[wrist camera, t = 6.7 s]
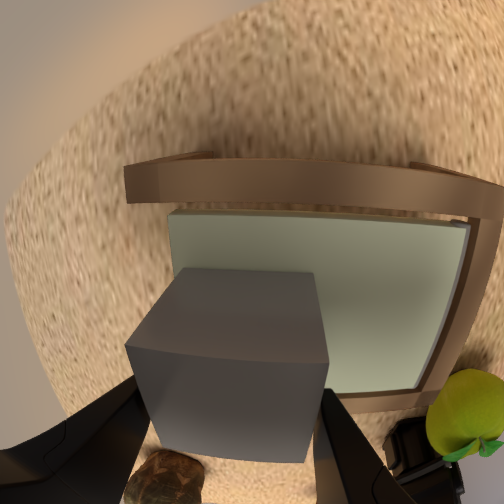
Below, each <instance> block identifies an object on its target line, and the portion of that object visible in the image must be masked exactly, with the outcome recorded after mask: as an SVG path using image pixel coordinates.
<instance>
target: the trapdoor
mask: <svg viewBox="0 0 504 504" xmlns="http://www.w3.org/2000/svg"><path fill="white" fill-rule="evenodd" d="M167 217H168V228H169V238H170V247H171V256H172V264H173V272H174V279H175V277H176V276H177V275H178V273H179V272H180V271H181V270H182V268H183V267H184V268H204V269H225V270H248V271H274V272H303V273H313V274H314V279H315V284H316V289H317V294H318V299H319V304H320V310H321V315H322V321H323V326H324V332H325V337H326V343H327V349H328V355H329V361H330V364H329V369H328V374H327V378H326V383H325V387H324V388H331V389H333V391H334V392H335V393H356V392H373V391H386V390H397V389H407V388H408V389H414V388H416V387H417V386H418V384H419V382H420V380H421V378H422V376H423V373H424V371H425V369H426V367H427V365H428V363H429V360H430V358H431V356H432V353H433V351H434V349H435V346H436V344H437V341H438V339H439V336H440V334H441V331H442V328H443V326H444V323H445V320H446V318H447V315H448V312H449V309H450V306H451V303H452V300H453V297H454V293H455V290H456V287H457V283H458V280H459V276H460V273H461V269H462V265H463V261H464V257H465V253H466V248H467V244H468V239H469V234H470V229H471V225H470V224H469V223H467V222H464V221H461V220H456V219H452V220H451V221H444V220H433V219H422V218H410V217H398V216H384V215H370V214H353V213H335V212H314V211H288V210H251V209H176V210H174V211H173V212H171V213H170V214H169V215H167Z"/></svg>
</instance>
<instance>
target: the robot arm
mask: <svg viewBox="0 0 504 504" xmlns="http://www.w3.org/2000/svg"><path fill="white" fill-rule="evenodd" d="M150 420H151V419H150V416H149V414H148V411H147V409H146V406H145V404H144V401H143V398H142V396H141V393H140V390H139V387H138V385H137V382H136V379H135V376H134V375H132V376H131V377H129V378H128V379H126V380H125V381H123V382H122V383H120V384H119V385H117V386H116V387H114V388H113V389H111V390H110V391H108V392H107V393H105V394H104V395H102V396H101V397H99V398H98V399H96V400H95V401H93V402H92V403H90V404H89V405H87V406H86V407H84V408H83V409H81V410H80V411H78V412H77V413H75V414H73V415H72V416H70V417H69V418H67V419H66V420H64V421H62V422H61V423H59V424H58V425H56V426H54V427H53V428H51V429H49V430H47V431H46V432H44V433H42V434H40V435H38V436H36V437H34V438H32V439H30V440H27V441H25V442H23V443H21V444H18V445H17V446H14V447H12V448H8V449H3V450H0V504H119V503H120V501H121V498H122V495H123V493H124V490H125V487H126V485H127V482H128V479H129V477H130V474H131V472H132V469H133V466H134V464H135V461H136V459H137V456H138V454H139V451H140V449H141V446H142V443H143V441H144V438H145V436H146V433H147V431H148V427H149V424H150ZM382 449H383V450H385V455H386V461H387V466H388V469H389V470H392V473H393V476H392V475H391V473H390V472H389V470H388V469H387V467H386V466H385V465H384V463H383V462H382V460H381V459H380V457H379V456H378V455H377V453H376V452H375V450H374V449H373V447H372V446H371V445H370V443H369V442H368V440H367V439H366V437H365V436H364V434H363V433H362V432H361V430H360V429H359V427H358V426H357V424H356V423H355V421H354V420H353V418H352V417H351V416H350V414H349V413H348V411H347V410H346V408H345V407H344V405H343V404H342V402H341V401H340V400H339V398H338V397H337V395H336V394H335V392H334V391H333V389H331V388H324V391H323V396H322V400H321V404H320V408H319V412H318V416H317V419H316V423H315V427H314V434H313V456H314V467H315V479H316V491H317V504H461V500H460V495H462V494H464V493H465V490H464V485H463V480H462V475H461V471H460V468H459V465H458V462H457V461H456V462H448V461H445V460H443V459H442V458H443V457H444V456H443V455H441V454H439V453H438V452H437V451H436V450H435V449H434V448H433V447H432V446H431V444H430V442H429V439H428V437H427V432H426V417H423V418H417V419H411V420H405V421H400V422H398V423H397V424H396V426H395V427H394V429H393V431H392V432H391V434H390V436H389V437H388V439H387V440H386V442H385V443H384V445H383V446H382ZM383 465H384V466H383ZM450 466H452V468H449V467H450Z"/></svg>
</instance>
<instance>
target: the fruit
mask: <svg viewBox="0 0 504 504" xmlns="http://www.w3.org/2000/svg"><path fill="white" fill-rule="evenodd" d="M503 431H504V381H503V380H502V379H500V378H499V377H497V376H495V375H493V374H491V373H488V372H485V371H481V370H477V369H465V370H461V371H459V372H457V373H455V374H453V375H451V376H449V377H448V379H447V381H446V382H445V384H444V386H443V388H442V390H441V391H440V393H439V395H438V397H437V398H436V400H435V402H434V403H433V405H429V408H428V411H427V416H426V432H427V437H428V439H429V442H430V444H431V446H432V447H433V448H434V449H435V450H436V451H437V452H438V453H439V454H441V455H443V456H444V457H443V458H442V459H443V460H445V461H448V462H456V461H458V460H459V459H462V458H464V457H466V456H468V455H472V454H475V453H477V452H478V451H479V450H480V451H479V455H480V456H482V457H489V456H490V455H492V454H493V453H494V452H495V451H496V450H497V449H498V448H499V447H501V446H502V445H503V444H504V442H501V441H495V440H496V439H498V437H499V436H500V435H501V434H502V432H503Z"/></svg>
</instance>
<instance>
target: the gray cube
mask: <svg viewBox="0 0 504 504" xmlns="http://www.w3.org/2000/svg"><path fill="white" fill-rule="evenodd" d="M125 348H126V351H127V355H128V358H129V361H130V364H131V367H132V370H133V373H134V376H135V379H136V382H137V385H138V387H139V390H140V393H141V396H142V398H143V401H144V404H145V406H146V409H147V411H148V414H149V416H150V419H151V421H152V423H153V426H154V428H155V431H156V433H157V435H158V437H159V440H160V442H161V444H162V446H163V447H164V448H168V449H173V450H178V451H182V452H188V453H193V454H199V455H205V456H211V457H218V458H226V459H234V460H244V461H256V462H273V463H304V461H305V458H306V455H307V451H308V448H309V445H310V441H311V438H312V434H313V431H314V427H315V423H316V419H317V416H318V412H319V408H320V404H321V400H322V396H323V391H324V387H325V383H326V378H327V374H328V369H329V364H330V361H329V355H328V349H327V343H326V337H325V332H324V326H323V321H322V315H321V310H320V304H319V299H318V294H317V289H316V284H315V279H314V274H313V273H303V272H274V271H248V270H225V269H204V268H184V267H183V268H182V270H181V271H180V272H179V273H178V275H177V276H176V277H175V279H174V280H173V281H172V282H171V284H170V285H169V286H168V288H167V289H166V290H165V291H164V293H163V294H162V295H161V297H160V298H159V299H158V301H157V302H156V303H155V304H154V306H153V307H152V308H151V310H150V311H149V312H148V314H147V315H146V316H145V318H144V319H143V320H142V322H141V323H140V324H139V326H138V327H137V328H136V330H135V331H134V332H133V334H132V335H131V336H130V338H129V339H128V341H127V342H126V343H125Z"/></svg>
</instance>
